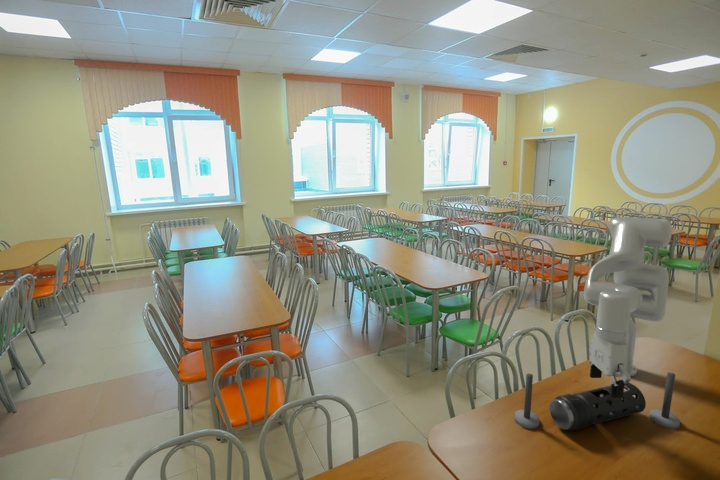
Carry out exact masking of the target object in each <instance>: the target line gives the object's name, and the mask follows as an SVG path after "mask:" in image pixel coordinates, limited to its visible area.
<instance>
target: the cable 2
mask: <svg viewBox="0 0 720 480" xmlns="http://www.w3.org/2000/svg"><path fill="white" fill-rule="evenodd" d="M675 379H676V374H675V373H674V372H667V374H666V381H665V385H664V386H665V387H664V388H665V389H664V396H663V400H662V408H661V409H660V408H659V409H657V408H654V409H651V410H650V413H649V414H650V415H649V418H650V420H651V421H652V422H653V423H654V424H656V425H658V426H660V427H663V428H666V429H671V430H676V429H678V428H680V425H681V420H680V418H679V417H678V416H677V415H675V414H674V413H672V412H671V407H672V400H673V393H674V388H675V387H674V385H675V381H676V380H675Z"/></svg>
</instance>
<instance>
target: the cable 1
mask: <svg viewBox="0 0 720 480" xmlns="http://www.w3.org/2000/svg"><path fill="white" fill-rule="evenodd" d="M525 376H526V378H525V392H524V393H525V394H524V407H523V409H519V410H516V411H515V413H514V421H515V423H516V424H517V425H519V427H521V426H522V428H524V429H528V430H536V429H537V428H538V427H539V426H540V418H539V416H538V415H537V414H536V413H535V412H533V411H531V410H532V394H533V379H534V375H533V374H532V373H526V375H525Z"/></svg>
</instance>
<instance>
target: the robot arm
mask: <svg viewBox="0 0 720 480" xmlns="http://www.w3.org/2000/svg"><path fill="white" fill-rule="evenodd" d="M672 228H673V227H672V223H671V221H670V220H669V219H666V218H657V217H655V218H652V217H639V216H638V217H637V216H634V217H633V216H619V217H618V216H617V217H614V218H612V219H610V221H609V223H608V229H609V233H610V236H611V238H612V239H611V244H610V248H609V253H608V255H607V256H605V257H602V259H600V260H598V261H597V262H596V263H595V264H594V265H592V267H591V268H590V269H589V271H588V273H587V276H586V281H585V284H584V287H583V288H584V289H583V298H584V300H585V302H586V303H588V304H590V305H593V306H597V315H596V316H597V317H596V323H595V331H594V334H593V336H592V340H591V342H590V343H591V344H590V346H588V352H589V354H588V357H589V364H590V370H589V371H590V372H589V377H590V378H591V379H601V378H602V375H603V374H605V375H606V376H607V377H610V378H611V380H612V383H611V384H610V385H611V392H610V396H611V397H612V398H622V397H623V392H625V388H624V386H626V385H628V383H631V380H632V377H634V376H636V375H637V373H638V369H637V367H636V366H635V365H633V364H634V363H633V362H634V355H635V350H636V349H635V348H636V339H637V333H638V330H637V326H636V323H635V322H634V321H633V319H637V320H642V321H647V322H648V321H649V322H658V323H659V322H661V321H662V320H663V319H664V317H665V313H666V308H667V299H668V289H669V283H670V282H669V281H670V279H669V278H670V275H669V272H668V270H667V268H666V267H664V266H661V265H655V264H654V265H653V264H647V263H645V262H644V261H645V256H646V255H645V254H646V251H645V248H644V247H651V248H652V247H653V248H665V247H667V246H668V245H669V243H670V241H671V239H672V230H673V229H672ZM612 273H613V282H614V283H613V282H607V281H599V279H600V278H601V277H604V276H606V275H608V274H612ZM641 291H646V292H649V293H650V294H649V293H642V292H641ZM602 373H603V374H602ZM617 377H619V379H618V380H617Z"/></svg>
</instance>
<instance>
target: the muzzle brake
mask: <svg viewBox="0 0 720 480" xmlns="http://www.w3.org/2000/svg"><path fill="white" fill-rule="evenodd" d="M625 390H626V391H625ZM610 392H611V384H610V385H607V386H603V387H598V388H594V389H593V388H592V389H588V390H585V391H580V392H576V393H573V394H572V393H566V394H563V395H557V396H556V397H555V398H554V399H553V400H551V401H550V403H549V414H550V415H551V418H552V420H553V422H554V424H555V425H556V426H557V427H558V428H560V429H562V430H569V431H576V430H581V429H583V428H586V427H587V426H591V425H595V424H600V423H603V422H607V421H612V420H615V419H619V418H622V417H627V416H631V415H634V414H639V413H642V412H643V411H644V410H645V409H646V404H647V402H646V399H645V396H644V394H643V392H642V391H641V390H640V389H639V388H638V387H637V386H636V385H634V384H632V383H631V382H629V383H628V385H626V386H624V392H623V397H622V398H612V397H611V396H610ZM634 396H635V397H634Z"/></svg>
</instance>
